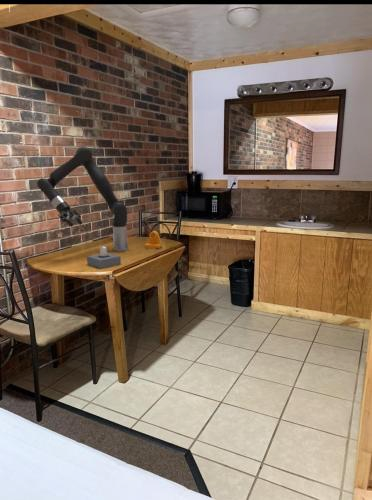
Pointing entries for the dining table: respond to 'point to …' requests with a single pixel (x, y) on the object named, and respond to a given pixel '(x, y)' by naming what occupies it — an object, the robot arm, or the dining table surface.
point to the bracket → (154, 241)
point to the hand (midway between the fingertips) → (77, 224)
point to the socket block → (103, 260)
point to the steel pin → (103, 251)
